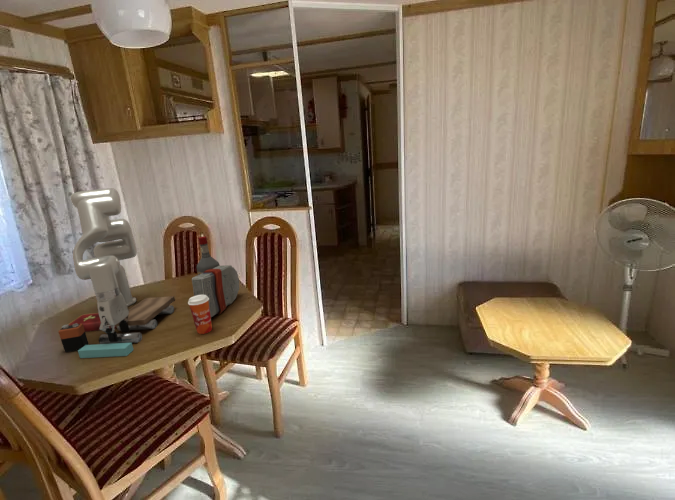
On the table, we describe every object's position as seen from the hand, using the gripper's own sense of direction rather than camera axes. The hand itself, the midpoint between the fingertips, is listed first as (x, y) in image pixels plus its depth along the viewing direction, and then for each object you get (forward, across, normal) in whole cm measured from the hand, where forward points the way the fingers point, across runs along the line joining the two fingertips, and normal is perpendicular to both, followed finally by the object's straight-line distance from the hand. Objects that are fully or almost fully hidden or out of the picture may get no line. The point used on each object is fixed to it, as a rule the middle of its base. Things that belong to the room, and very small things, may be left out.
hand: (120, 336), depth 141 cm
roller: (+3, 0, 0) cm, 3 cm away
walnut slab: (-1, +18, 0) cm, 18 cm away
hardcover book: (+4, +16, +21) cm, 27 cm away
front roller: (+3, +11, 0) cm, 11 cm away
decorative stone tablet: (+3, +27, -30) cm, 40 cm away
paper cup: (+2, +6, -31) cm, 32 cm away
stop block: (+2, -9, 0) cm, 9 cm away
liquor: (+3, +42, -20) cm, 46 cm away
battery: (+3, -3, +16) cm, 16 cm away
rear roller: (+3, +25, 0) cm, 25 cm away
